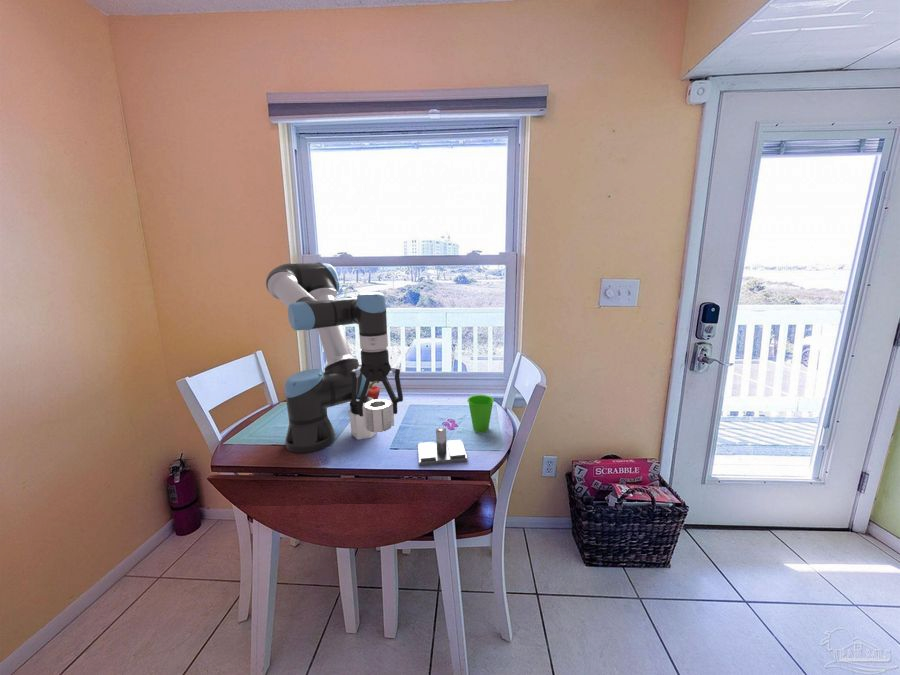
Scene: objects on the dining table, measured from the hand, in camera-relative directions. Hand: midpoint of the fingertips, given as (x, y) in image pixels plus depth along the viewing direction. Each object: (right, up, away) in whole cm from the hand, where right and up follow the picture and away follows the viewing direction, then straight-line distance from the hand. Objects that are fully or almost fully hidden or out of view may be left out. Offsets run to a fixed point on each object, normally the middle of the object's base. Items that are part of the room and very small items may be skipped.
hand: (379, 424), depth 101 cm
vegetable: (-13, -3, +42) cm, 44 cm away
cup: (+31, -7, +19) cm, 37 cm away
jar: (-9, -8, +19) cm, 22 cm away
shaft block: (+18, -10, +4) cm, 21 cm away
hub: (0, 0, 0) cm, 1 cm away
